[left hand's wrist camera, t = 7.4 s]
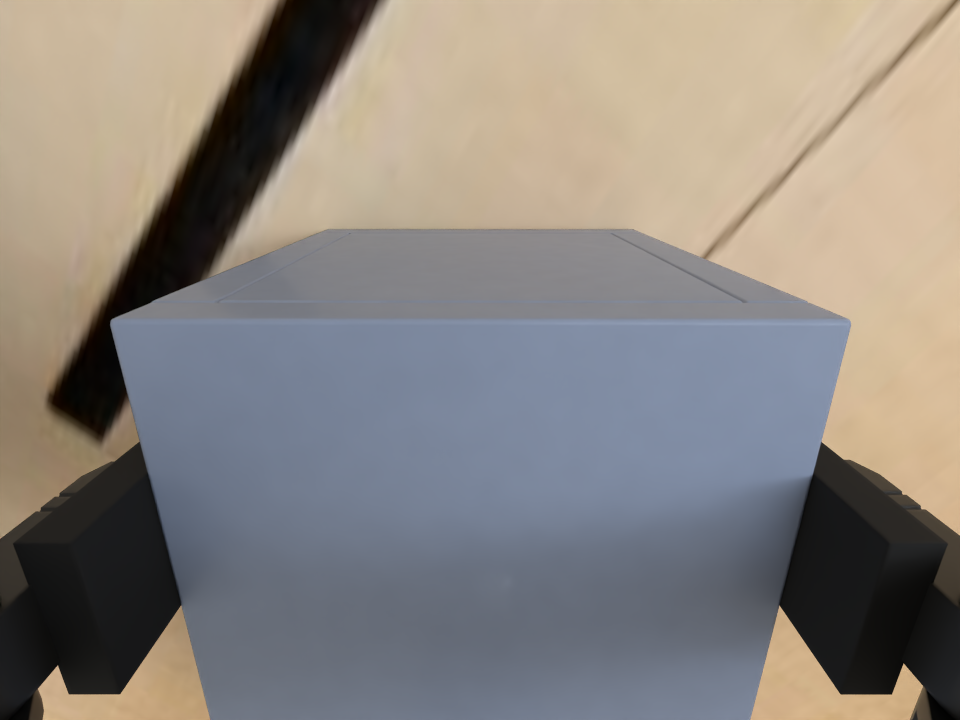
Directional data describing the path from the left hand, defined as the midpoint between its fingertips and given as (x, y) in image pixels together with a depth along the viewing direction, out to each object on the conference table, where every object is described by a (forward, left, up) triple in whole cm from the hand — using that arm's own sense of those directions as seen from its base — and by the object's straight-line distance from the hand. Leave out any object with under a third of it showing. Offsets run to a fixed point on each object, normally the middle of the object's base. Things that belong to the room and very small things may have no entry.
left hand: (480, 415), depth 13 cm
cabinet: (+5, -1, -6) cm, 8 cm away
